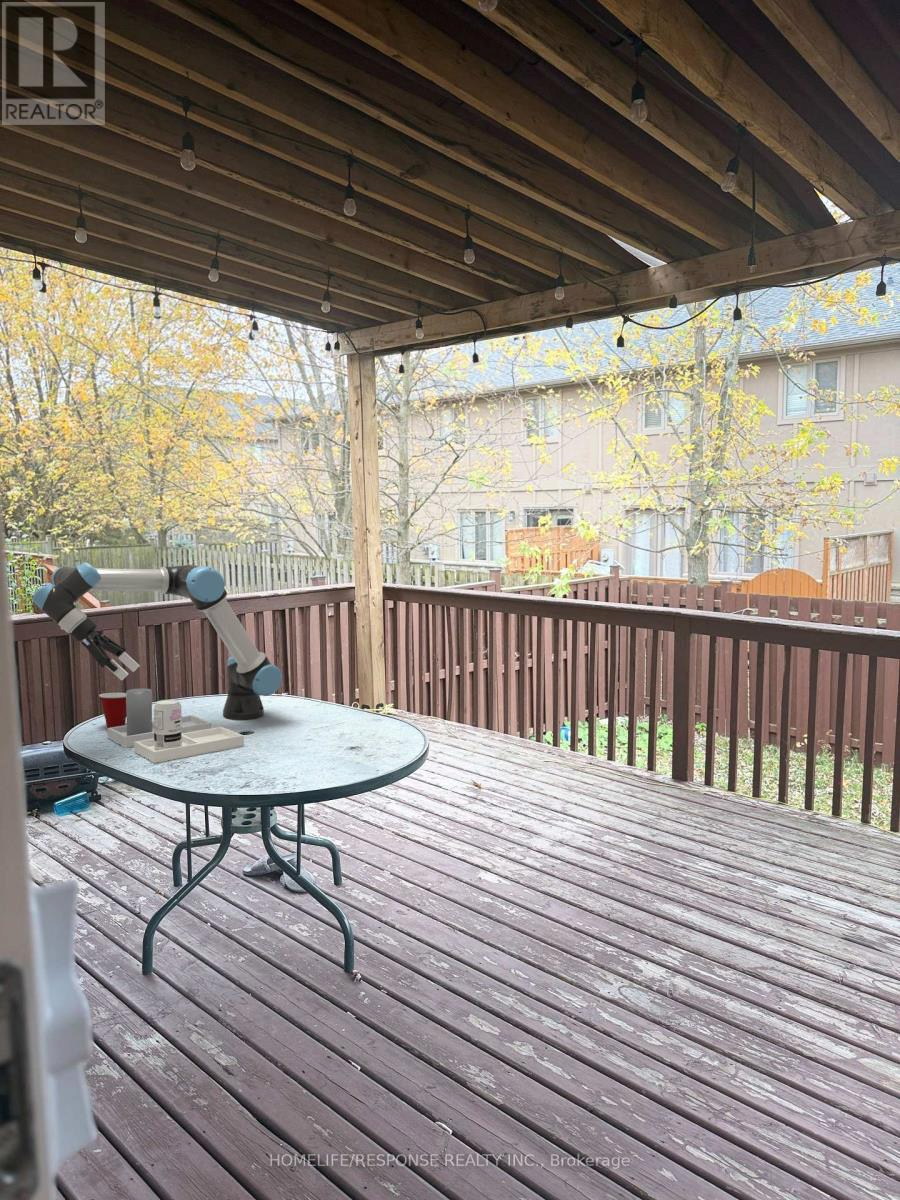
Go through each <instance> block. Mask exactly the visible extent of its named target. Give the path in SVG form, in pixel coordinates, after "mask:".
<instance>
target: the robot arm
mask: <svg viewBox="0 0 900 1200" xmlns="http://www.w3.org/2000/svg"><path fill="white" fill-rule="evenodd" d="M50 579H51V582H48V583H45V584H44V585H42V586H41V587H39V588H38V589H37V590H36V591H35V592H34V594H32V598H31V599H32V602H33V603H34V604H35V605H36V606H37V607H38V608H39V609H40V610H41V611H42V612H43V613H44V614H45V615H46V616H47V617H49V618H50V619H51V620H53V622H55V623H56V624H57V625H58V626H59V627H60V630H62V631H65V632H66V633H67V634H70V637H71V638H72V639H73V640H75V642H77V643H81V645H83V647H85V648H86V650H87V651H88V652H89V653H90V655H91V656H92V657H93V658H94V660H95V661H96V662H97V663H98V665H99V666H100V667H101V668H104V667H106V668H107V669H108V670H109V671H110V672H111V673H112V674H113V675H115V676H116V678H118V679H119V680H120V681H123V680H124V679H125V678H126V677H127V676H128V675H129V672H127V671H126V670H125V669H124V668H123V667H122V666H120V665H119V663H117V661H115V660H114V659H113V658H112V659H111V658H110V656H109V655H108V653H107V652H109V653H110V654H112V655H114V656H115V657H117V659H118V660H119V661H120V662H121V663H122V664H124V666H126V667H127V668H128V669H129V670H131V672H133V673H134V672H135V671H136V670H137V669H138V668H139V667H140V666H141V665H140V664H139V663H138V662H136V661H135V660H134V659H133V658H132V657H131V656H130V655H129V654H128V653H127V652H126V651H127V649H126V648H125V647H123V646H122V645H120V644H118V643H117V642H116V641H114V640H112V639H111V638H110V637H109V636H108V635H106V634H104V633H103V632H102V631H100V630H99V631H98V632H96V631H95V630H96V629H97V627H98V625H97V623H95V622H94V621H93V620H92V619H91V618H87V617H88V616H87V615H86V613H84V612H83V610H82V609H80V608H79V607H78V606H76V604H75V603H76V602H78V600H80V599H81V598H83V596H85V594H87V593H88V592H89V591H91V592H93V591H94V592H107V591H108V592H159V593H160V594H161V595H172V596H173V595H174V596H178V597H183V598H187V599H190V601H191V602H192V604H193V605H194V607H195V609H196V610H197V611H198V612H203V613H204V614H205V615H206V617H207V619H208V620H209V622H210V623H211V625H212V626H213V628H214V629H215V632H216V633H217V634H218V636H219V638H220V639H221V641H222V642H223V643H224V645H225V647H226V648H227V650H228V652H229V653H230V655H231V656H230V657H229V658H228V659H227V665H226V672H227V673H226V674H227V677H226V679H227V695H226V696H227V697H226V699H225V703H224V707H223V709H222V717H223V718H224V719H229V720H235V719H237V721H239V720H242V721H243V720H244V719H245V720H254V719H257V718H258V717H259V718H261V717H263V716H264V714H265V710H264V705H263V701H262V700H261V699H262V698H261V697H268V696H271V695H274V694H275V693H276V692H277V691H278V690H279V688H280V687H281V684H282V682H283V675H282V671H281V670H280V668H279V667H278V666H277V665H275V664H272V663H271V661H270V659H269V658H268V656H267V654H266V653H265V652H261V651H259V650H258V649H257V647H256V645H255V644H254V642H253V640H252V639H251V637H250V635H249V634H248V632H247V631H246V630H245V628H244V626H243V625H242V623H241V621H240V620H239V618H238V617H237V615H236V613H235V612H234V610H233V608H232V606H231V605H230V603H229V602H228V600H227V597H228V592H227V590H226V588H225V586H226V585H225V579H224V577H223V575H222V574H221V573H220V572H219V571H218V570H217V569H215V568H213V567H210V566H205V565H194V564H186V565H175V566H161V567H160V568H159V569H152V568H149V569H148V568H145V569H144V568H106V567H105V568H100V567H99V568H97V567H96V568H95V567H94V566H93V565H92V564H90V563H88V562H85V561H84V562H82V563H81V564H79V565H78V566H76V567H69V566H61V567H58V568H56V569H54V570H53V572H52V574H51V578H50ZM106 651H107V652H106ZM245 720H244V721H245Z"/></svg>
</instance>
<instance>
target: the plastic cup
mask: <svg viewBox="0 0 900 1200" xmlns="http://www.w3.org/2000/svg"><path fill="white" fill-rule="evenodd" d="M98 696H99V698H100V701H101V705H102V711H103V714H104V718H105V720H104V721H105V724H106V728H107V729H108V728H112V727H118V726H124V725H126V722H127V711H126V692H107V693H100V694H98Z"/></svg>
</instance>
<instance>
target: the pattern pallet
mask: <svg viewBox="0 0 900 1200" xmlns="http://www.w3.org/2000/svg"><path fill="white" fill-rule="evenodd" d="M125 693H126V711H127V717H126V724H125V725H124V726H118V727H112V728H107V739H108V738H109V739H108V740H110V739H111V740H110V741H112V740H113V741H112V742H114V741H115V742H114V743H116V742H117V743H116V744H118V743H119V744H121V745H123V746H125V747H128V746H133V747H134V742H136V741H142V740H147V739H153V738H154V720H153V690H152V689H151V688H146V687H143V688H142V687H141V688H131V689H127V690H126V692H125ZM181 720H182V733H188V732H193V731H199V730H205V729H211V728H213V724H212V723H213V722H211V721H208V720H206V719H204V718H200V717H199V716H197V715H194V714H189V715H181ZM119 744H118V745H119ZM121 745H120V746H121ZM123 746H122V747H123ZM125 747H124V748H125ZM128 748H129V747H128Z"/></svg>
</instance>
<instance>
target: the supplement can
mask: <svg viewBox="0 0 900 1200" xmlns="http://www.w3.org/2000/svg"><path fill="white" fill-rule="evenodd" d="M181 716H182V705H181V703H180V701H179V700H177V699H161V700H158V701H157V700H156V702H155V704H154V706H153V721H154V748H155V749H156V750H157V751H158V750H163V749H168V748H174V747H179V746H182V720H181Z"/></svg>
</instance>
